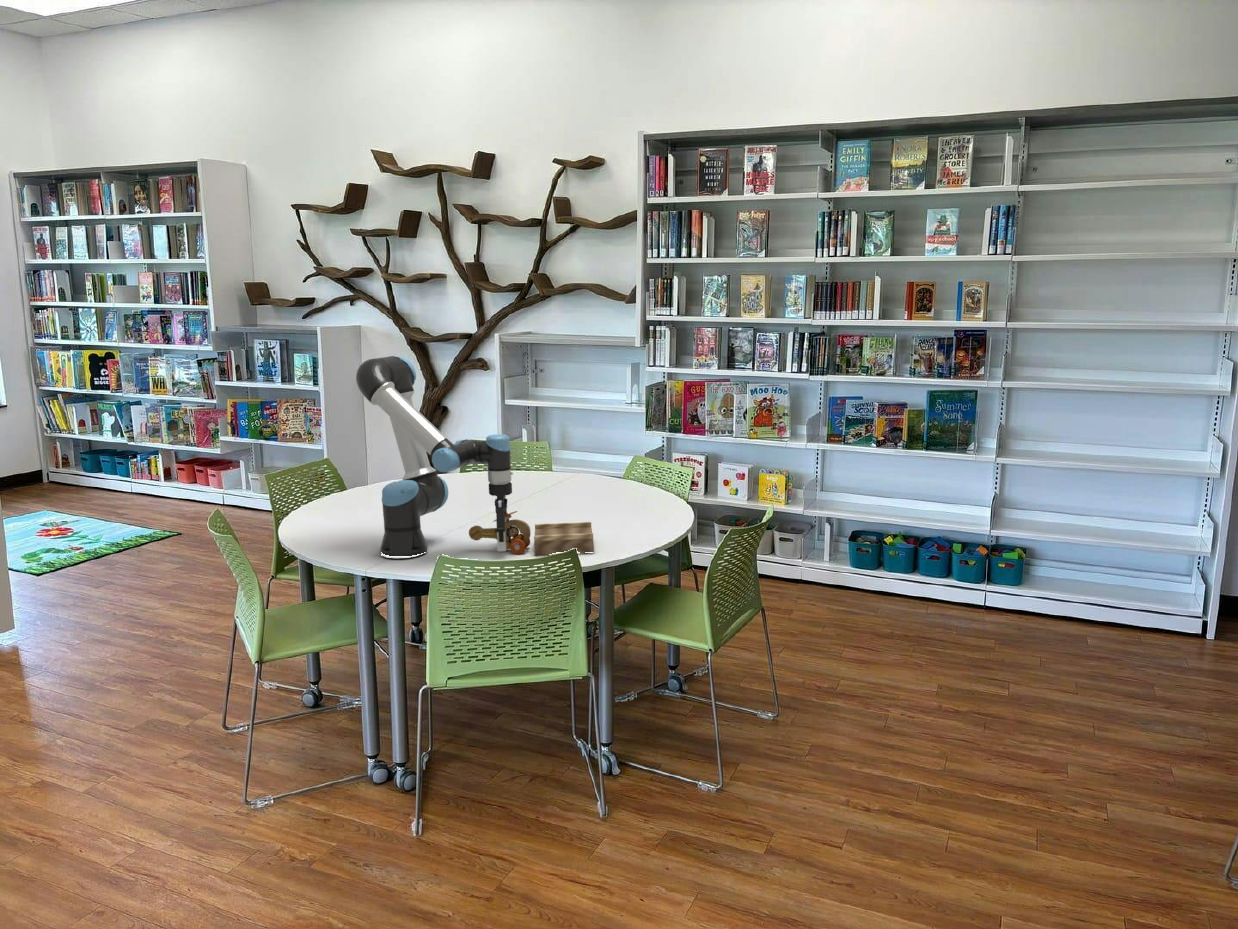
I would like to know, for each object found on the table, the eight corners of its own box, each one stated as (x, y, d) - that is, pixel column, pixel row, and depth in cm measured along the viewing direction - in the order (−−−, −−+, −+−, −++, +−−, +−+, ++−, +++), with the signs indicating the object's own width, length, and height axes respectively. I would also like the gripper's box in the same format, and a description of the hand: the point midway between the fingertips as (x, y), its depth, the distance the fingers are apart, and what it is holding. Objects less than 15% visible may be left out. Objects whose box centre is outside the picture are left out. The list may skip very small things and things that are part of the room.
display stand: (534, 556, 302) (534, 536, 301) (535, 542, 318) (534, 524, 317) (593, 553, 304) (593, 534, 302) (591, 540, 319) (591, 521, 318)
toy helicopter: (527, 554, 304) (525, 513, 301) (466, 553, 307) (463, 512, 305) (534, 547, 312) (532, 507, 309) (474, 546, 315) (471, 506, 313)
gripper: (510, 489, 293) (513, 555, 297) (513, 474, 318) (515, 535, 322) (485, 490, 293) (489, 556, 297) (490, 475, 317) (493, 536, 321)
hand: (503, 545), depth 309 cm, fingers open, 13 cm apart
